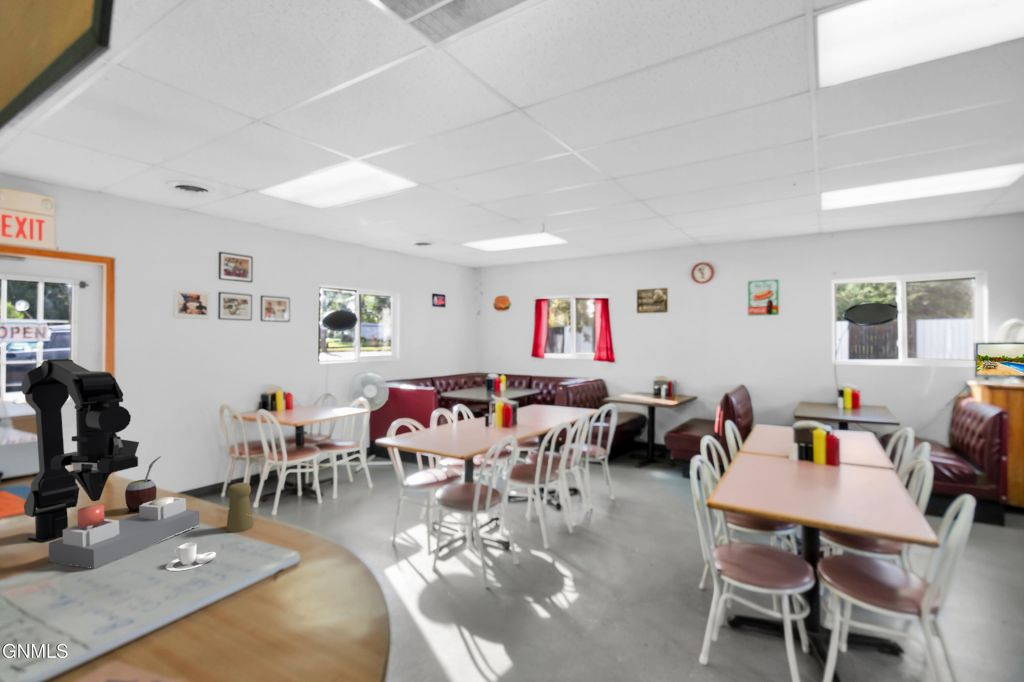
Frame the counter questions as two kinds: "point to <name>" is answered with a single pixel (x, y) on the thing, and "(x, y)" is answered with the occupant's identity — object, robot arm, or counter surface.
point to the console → (122, 534)
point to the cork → (239, 508)
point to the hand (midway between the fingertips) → (95, 500)
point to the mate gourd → (140, 492)
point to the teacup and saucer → (190, 557)
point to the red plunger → (90, 515)
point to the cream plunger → (162, 501)
